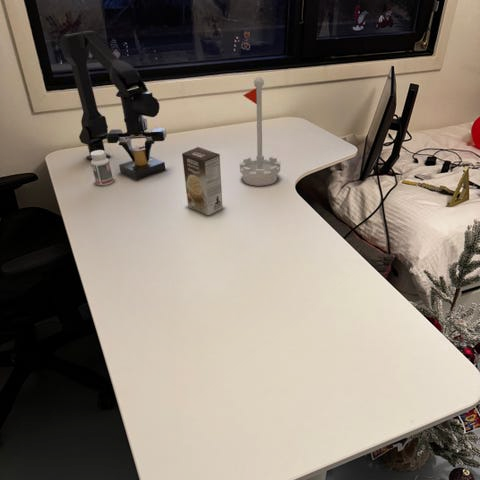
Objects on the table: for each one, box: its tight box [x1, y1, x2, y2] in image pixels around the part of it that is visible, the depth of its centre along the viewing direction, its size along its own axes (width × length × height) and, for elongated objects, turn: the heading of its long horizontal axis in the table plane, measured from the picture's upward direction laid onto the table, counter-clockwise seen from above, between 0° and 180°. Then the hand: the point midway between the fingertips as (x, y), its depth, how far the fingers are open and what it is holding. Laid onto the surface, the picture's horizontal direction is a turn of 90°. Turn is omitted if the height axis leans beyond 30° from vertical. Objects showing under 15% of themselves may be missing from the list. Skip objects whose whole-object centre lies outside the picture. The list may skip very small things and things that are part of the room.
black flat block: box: [118, 155, 166, 181], centre depth 159 cm, size 10×12×3 cm
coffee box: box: [181, 146, 224, 216], centre depth 130 cm, size 9×6×16 cm
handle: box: [132, 145, 148, 166], centre depth 156 cm, size 4×4×5 cm
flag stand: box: [239, 76, 281, 187], centre depth 141 cm, size 13×13×30 cm
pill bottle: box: [90, 150, 114, 186], centre depth 151 cm, size 6×6×10 cm
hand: (141, 161), depth 157 cm, fingers closed on handle, 4 cm apart
